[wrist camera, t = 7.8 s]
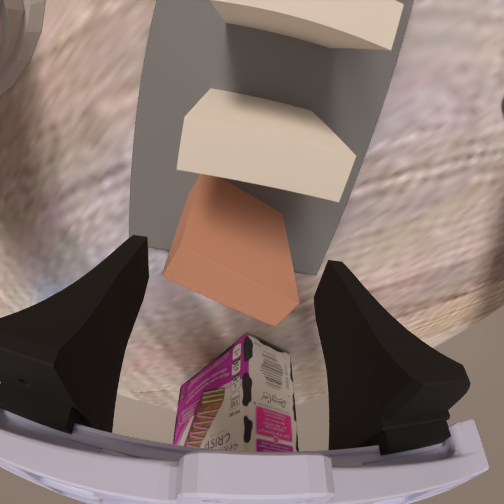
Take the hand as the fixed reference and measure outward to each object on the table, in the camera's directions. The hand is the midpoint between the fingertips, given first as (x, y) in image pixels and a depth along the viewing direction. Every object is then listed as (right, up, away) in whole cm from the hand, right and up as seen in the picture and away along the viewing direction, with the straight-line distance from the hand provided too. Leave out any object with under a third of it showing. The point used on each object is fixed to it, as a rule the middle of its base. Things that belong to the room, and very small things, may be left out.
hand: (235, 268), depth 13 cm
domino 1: (+2, +11, -1) cm, 11 cm away
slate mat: (+2, +12, -1) cm, 12 cm away
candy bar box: (-1, -10, +15) cm, 18 cm away
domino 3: (0, +3, +5) cm, 6 cm away
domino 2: (+1, +7, +2) cm, 8 cm away
